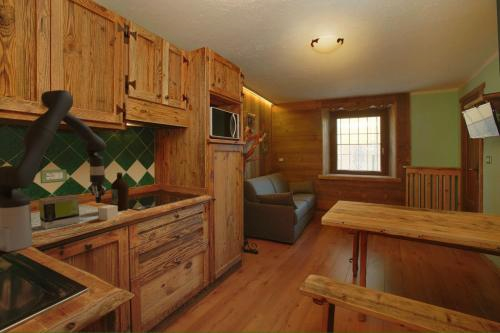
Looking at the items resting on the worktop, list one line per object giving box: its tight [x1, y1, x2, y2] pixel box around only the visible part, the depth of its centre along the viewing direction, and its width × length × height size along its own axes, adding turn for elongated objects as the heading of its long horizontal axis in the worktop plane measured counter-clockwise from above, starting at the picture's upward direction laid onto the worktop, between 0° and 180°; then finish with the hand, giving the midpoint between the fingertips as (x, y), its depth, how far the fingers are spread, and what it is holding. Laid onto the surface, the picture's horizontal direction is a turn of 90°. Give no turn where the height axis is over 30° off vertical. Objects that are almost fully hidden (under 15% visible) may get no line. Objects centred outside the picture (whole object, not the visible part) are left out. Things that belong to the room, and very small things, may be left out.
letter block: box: [97, 204, 119, 221], centre depth 141 cm, size 7×7×7 cm
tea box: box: [38, 194, 81, 230], centre depth 129 cm, size 15×10×15 cm, turn 141°
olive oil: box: [110, 171, 130, 212], centre depth 161 cm, size 11×11×25 cm
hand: (98, 202), depth 144 cm, fingers closed
